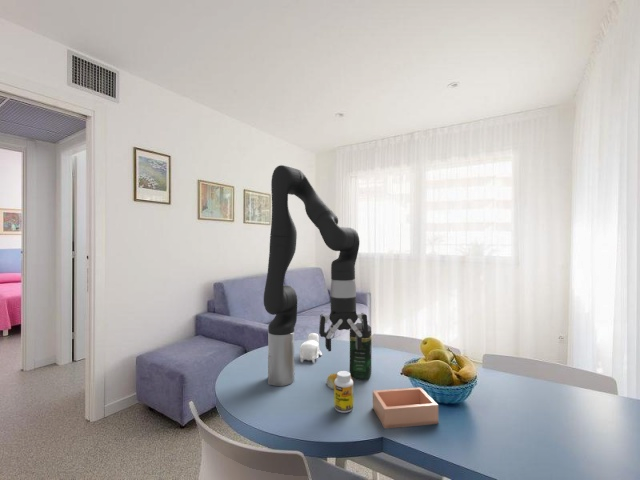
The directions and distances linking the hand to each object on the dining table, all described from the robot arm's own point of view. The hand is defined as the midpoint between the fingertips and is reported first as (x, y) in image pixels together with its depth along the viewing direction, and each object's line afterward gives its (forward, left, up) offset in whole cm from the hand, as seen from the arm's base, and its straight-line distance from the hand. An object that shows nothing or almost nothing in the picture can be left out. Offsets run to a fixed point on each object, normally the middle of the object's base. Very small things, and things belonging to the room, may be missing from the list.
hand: (343, 349), depth 88 cm
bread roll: (+2, +15, -18) cm, 23 cm away
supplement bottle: (0, 0, -17) cm, 17 cm away
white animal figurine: (-5, +42, -18) cm, 46 cm away
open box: (+16, -6, -17) cm, 24 cm away
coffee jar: (+11, +21, -17) cm, 29 cm away
